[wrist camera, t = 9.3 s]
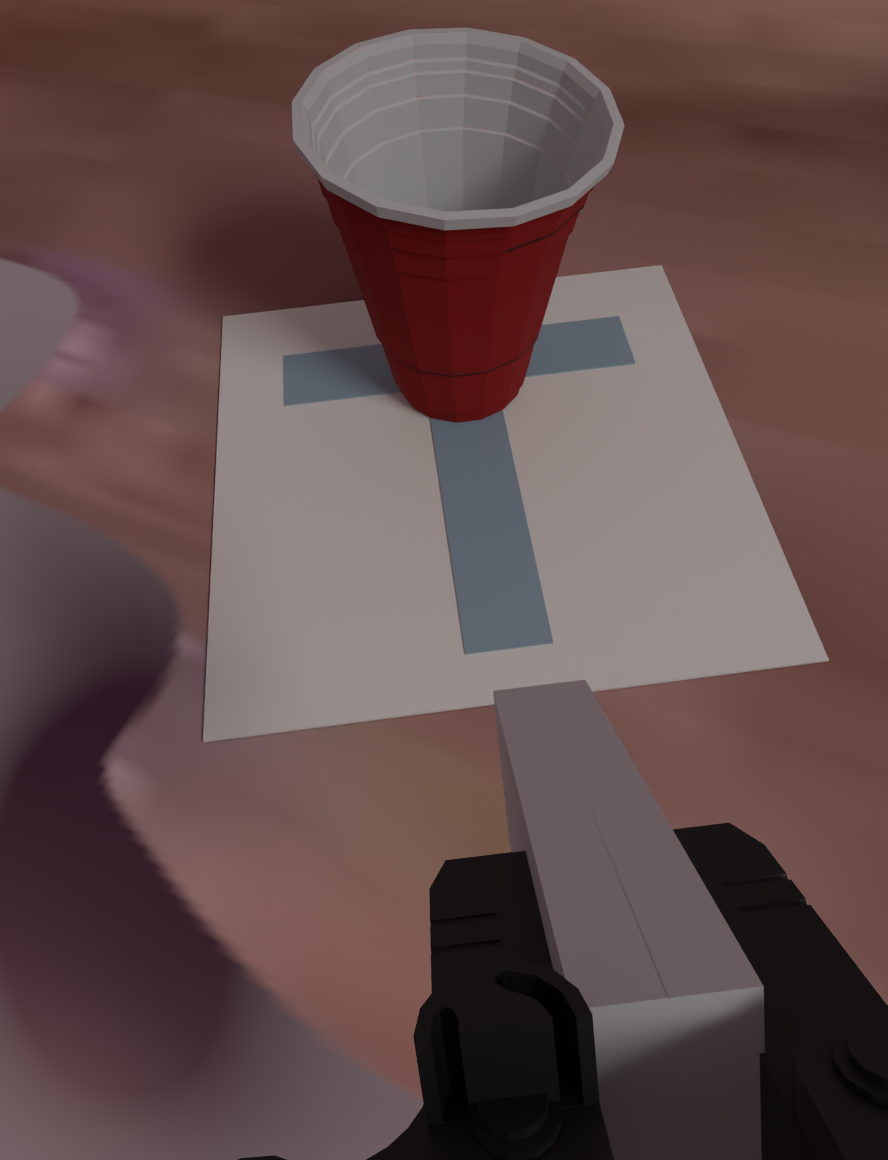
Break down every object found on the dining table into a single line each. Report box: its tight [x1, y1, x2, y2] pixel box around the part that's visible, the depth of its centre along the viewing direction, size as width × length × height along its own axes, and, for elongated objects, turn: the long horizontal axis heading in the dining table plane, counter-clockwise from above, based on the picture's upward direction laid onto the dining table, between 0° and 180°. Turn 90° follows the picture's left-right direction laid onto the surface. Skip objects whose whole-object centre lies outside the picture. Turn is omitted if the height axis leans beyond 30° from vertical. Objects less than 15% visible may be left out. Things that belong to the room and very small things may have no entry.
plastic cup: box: [292, 28, 625, 423], centre depth 30 cm, size 11×11×12 cm
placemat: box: [203, 265, 829, 742], centre depth 32 cm, size 22×22×1 cm
